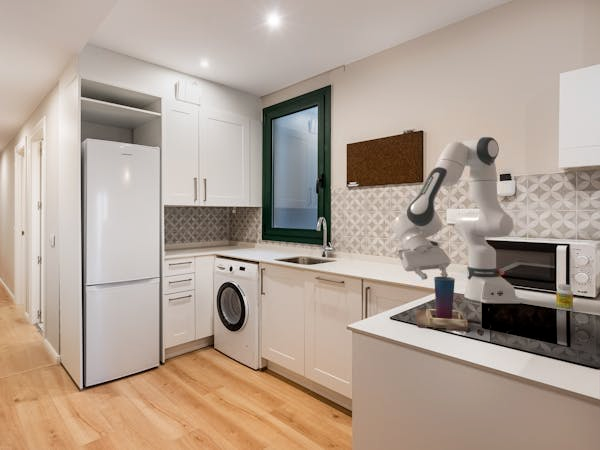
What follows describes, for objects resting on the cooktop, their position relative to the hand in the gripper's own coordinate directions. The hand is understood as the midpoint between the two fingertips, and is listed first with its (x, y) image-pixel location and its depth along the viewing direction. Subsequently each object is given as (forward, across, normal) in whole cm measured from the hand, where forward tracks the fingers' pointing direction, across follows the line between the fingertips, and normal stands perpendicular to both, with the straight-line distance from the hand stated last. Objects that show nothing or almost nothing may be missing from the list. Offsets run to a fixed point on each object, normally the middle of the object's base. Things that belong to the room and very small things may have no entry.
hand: (435, 277), depth 130 cm
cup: (+14, 0, +7) cm, 15 cm away
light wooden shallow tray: (+13, -1, +9) cm, 16 cm away
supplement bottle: (+18, +56, +4) cm, 60 cm away
